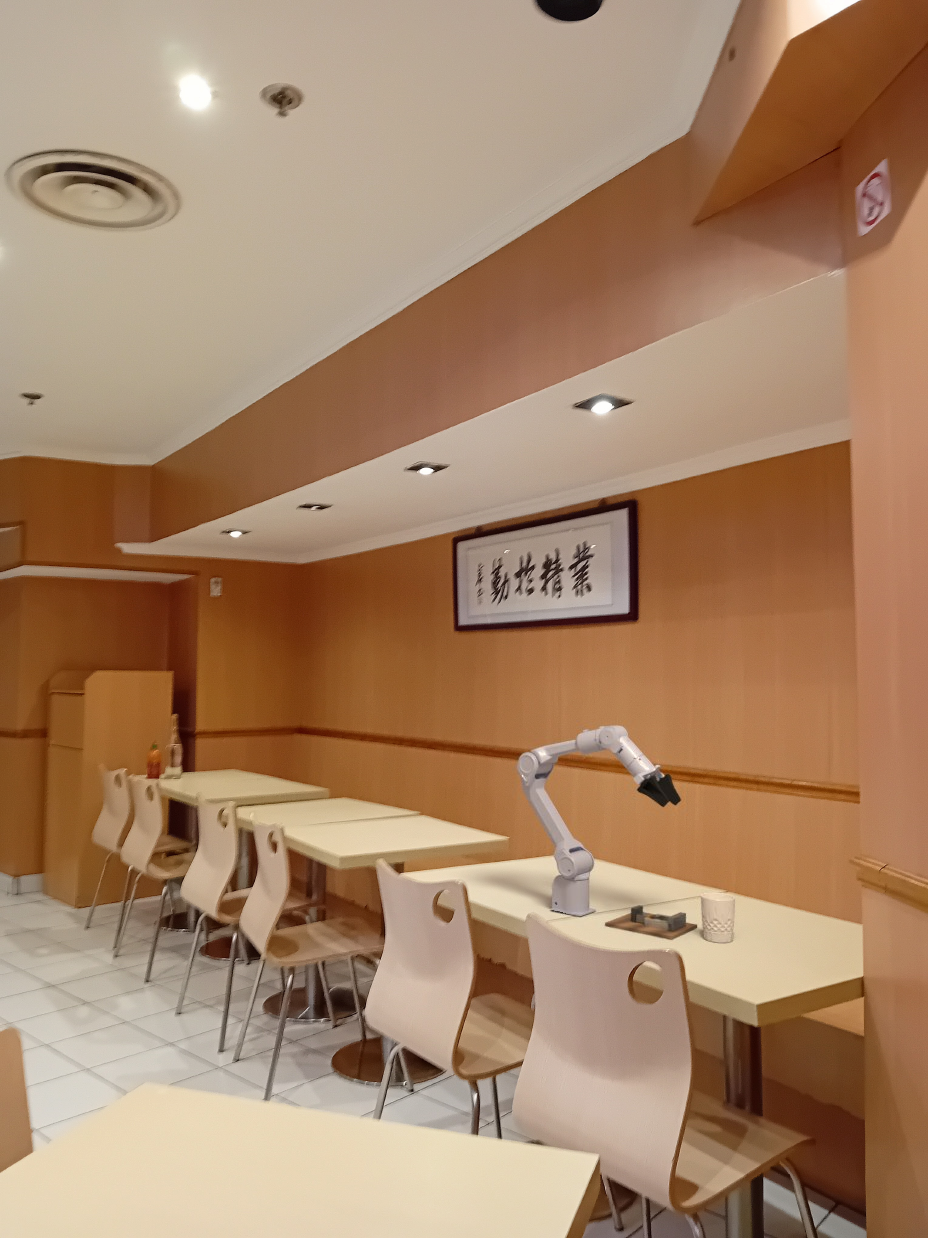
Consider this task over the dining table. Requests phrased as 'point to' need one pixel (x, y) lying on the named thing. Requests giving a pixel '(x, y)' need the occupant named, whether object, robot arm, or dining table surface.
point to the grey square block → (641, 915)
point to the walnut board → (647, 928)
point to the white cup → (718, 917)
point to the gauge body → (667, 922)
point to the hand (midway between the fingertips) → (672, 803)
